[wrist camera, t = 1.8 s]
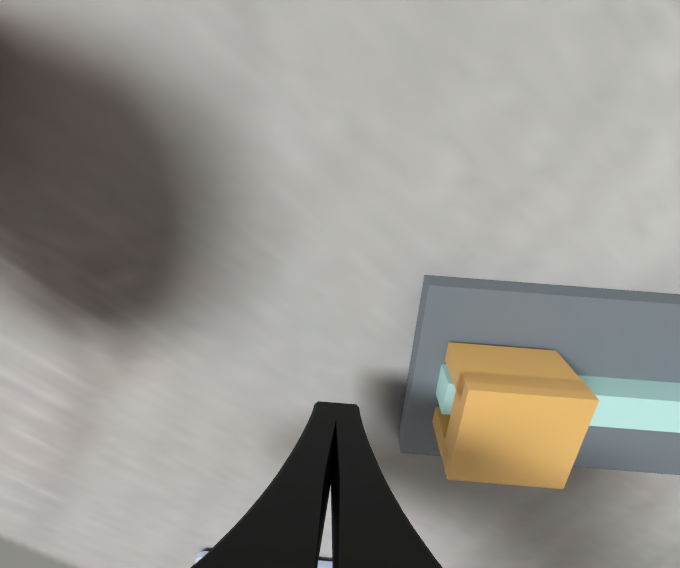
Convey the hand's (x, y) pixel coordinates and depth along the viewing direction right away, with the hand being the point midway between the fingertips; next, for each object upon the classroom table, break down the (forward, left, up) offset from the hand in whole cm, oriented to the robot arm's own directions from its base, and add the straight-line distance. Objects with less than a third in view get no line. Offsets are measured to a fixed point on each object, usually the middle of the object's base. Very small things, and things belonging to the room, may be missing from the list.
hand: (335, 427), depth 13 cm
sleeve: (0, -6, -3) cm, 7 cm away
